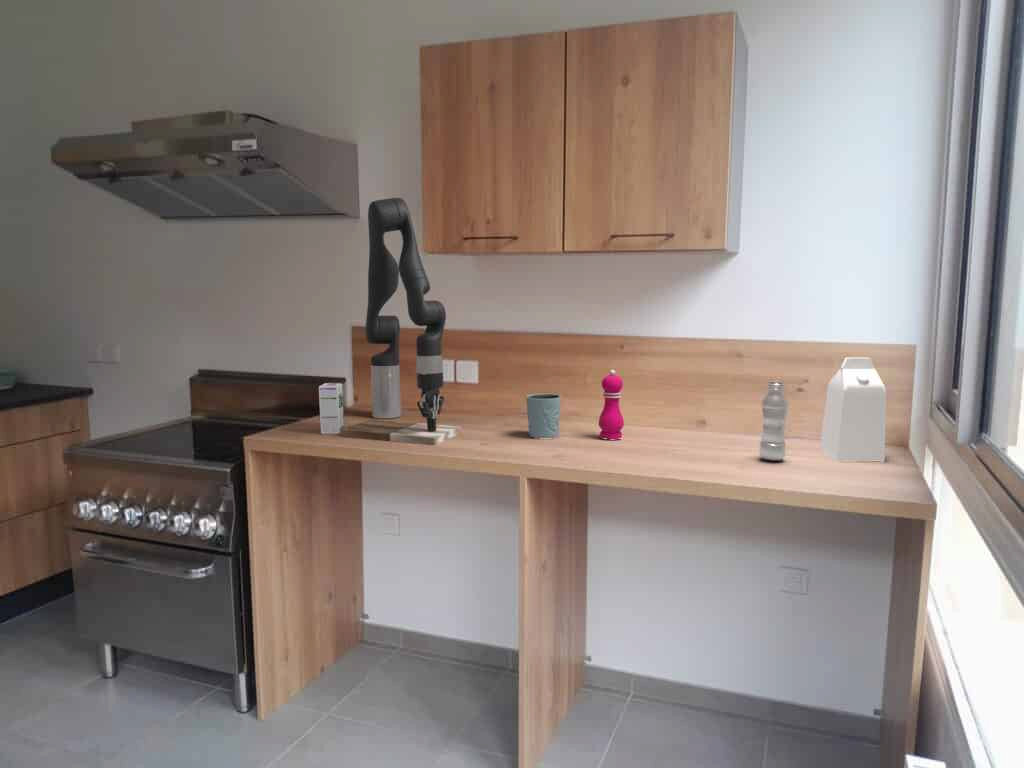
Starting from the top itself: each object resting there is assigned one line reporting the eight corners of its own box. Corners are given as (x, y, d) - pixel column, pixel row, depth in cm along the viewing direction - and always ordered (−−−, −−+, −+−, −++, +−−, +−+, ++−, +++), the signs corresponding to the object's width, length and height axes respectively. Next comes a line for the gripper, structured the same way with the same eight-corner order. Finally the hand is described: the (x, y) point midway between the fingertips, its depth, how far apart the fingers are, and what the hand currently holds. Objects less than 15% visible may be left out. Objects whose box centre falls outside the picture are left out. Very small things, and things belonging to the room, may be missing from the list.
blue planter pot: (566, 438, 217) (567, 397, 216) (535, 441, 213) (535, 399, 211) (550, 431, 227) (550, 392, 225) (519, 434, 222) (520, 394, 220)
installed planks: (371, 425, 234) (371, 419, 234) (417, 429, 229) (417, 422, 228) (340, 436, 219) (340, 429, 218) (389, 440, 213) (388, 433, 213)
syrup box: (339, 434, 221) (338, 385, 219) (319, 434, 221) (318, 385, 219) (344, 430, 227) (343, 382, 225) (325, 430, 227) (323, 382, 225)
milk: (864, 451, 203) (871, 355, 199) (884, 462, 191) (892, 360, 188) (819, 451, 203) (825, 355, 199) (836, 461, 192) (843, 360, 188)
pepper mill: (604, 441, 213) (606, 371, 210) (594, 436, 220) (595, 368, 217) (627, 440, 216) (629, 370, 213) (616, 435, 222) (618, 367, 219)
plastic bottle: (754, 460, 192) (758, 382, 190) (765, 455, 197) (769, 380, 194) (778, 464, 188) (783, 385, 185) (789, 460, 193) (794, 382, 190)
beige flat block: (418, 429, 229) (418, 423, 228) (460, 433, 224) (460, 426, 223) (390, 440, 213) (389, 433, 213) (434, 445, 208) (434, 438, 208)
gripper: (428, 368, 222) (430, 426, 224) (407, 373, 210) (409, 434, 212) (451, 368, 219) (453, 427, 221) (431, 373, 207) (433, 435, 209)
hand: (431, 431), depth 217 cm, fingers closed
